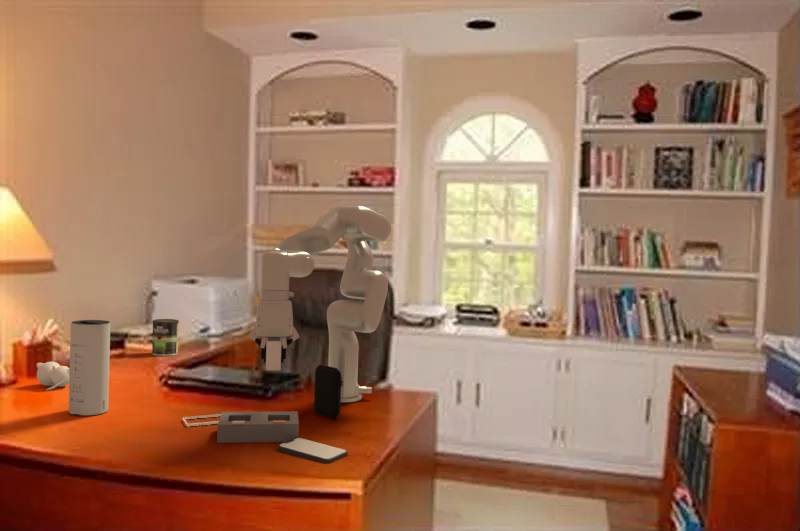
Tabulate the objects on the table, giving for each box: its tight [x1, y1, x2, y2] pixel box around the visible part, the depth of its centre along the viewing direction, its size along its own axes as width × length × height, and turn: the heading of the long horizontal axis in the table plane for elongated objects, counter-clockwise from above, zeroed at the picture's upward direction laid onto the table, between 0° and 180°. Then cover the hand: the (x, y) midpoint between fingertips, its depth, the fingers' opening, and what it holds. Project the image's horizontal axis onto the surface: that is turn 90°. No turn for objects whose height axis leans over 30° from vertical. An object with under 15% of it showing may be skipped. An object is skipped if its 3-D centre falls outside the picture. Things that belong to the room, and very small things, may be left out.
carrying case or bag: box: [313, 364, 343, 420], centre depth 196 cm, size 11×3×15 cm, turn 51°
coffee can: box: [151, 318, 180, 357], centre depth 283 cm, size 10×10×14 cm
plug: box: [265, 337, 282, 371], centre depth 189 cm, size 4×4×9 cm
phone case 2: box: [277, 437, 348, 464], centre depth 165 cm, size 9×2×16 cm
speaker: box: [68, 319, 111, 417], centre depth 192 cm, size 11×10×26 cm
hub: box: [216, 410, 300, 444], centre depth 177 cm, size 20×12×5 cm, turn 100°
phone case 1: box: [181, 413, 221, 428], centre depth 188 cm, size 7×1×15 cm
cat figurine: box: [36, 361, 70, 392], centre depth 220 cm, size 9×11×12 cm
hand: (273, 361), depth 189 cm, fingers closed on plug, 4 cm apart
